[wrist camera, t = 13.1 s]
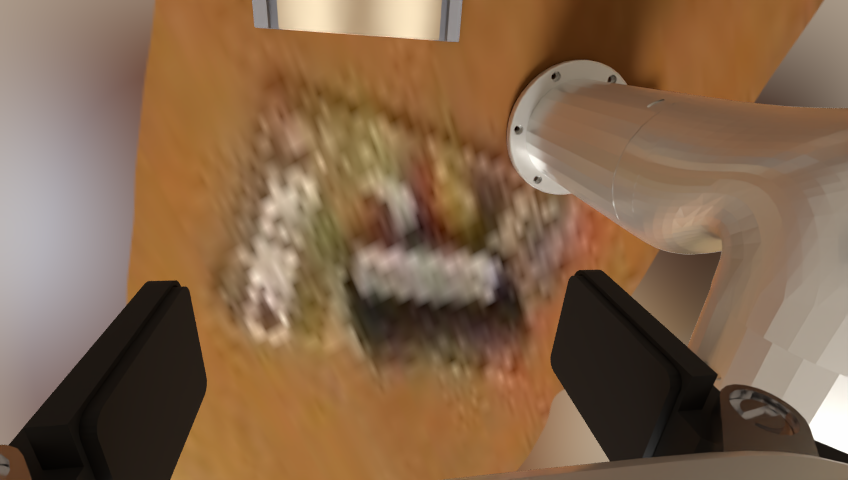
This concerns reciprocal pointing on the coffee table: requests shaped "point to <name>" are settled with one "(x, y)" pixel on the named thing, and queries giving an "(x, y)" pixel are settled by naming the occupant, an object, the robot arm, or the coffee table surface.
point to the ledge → (363, 17)
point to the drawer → (449, 31)
